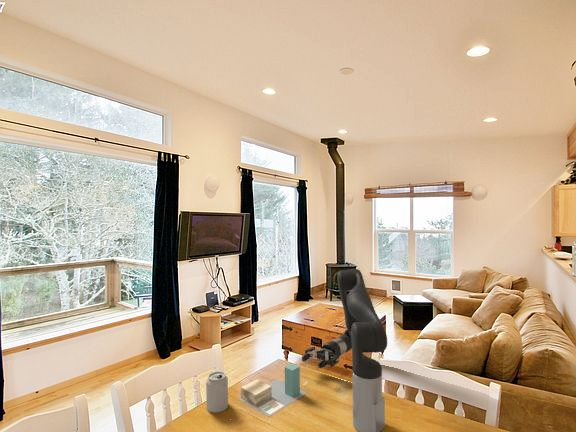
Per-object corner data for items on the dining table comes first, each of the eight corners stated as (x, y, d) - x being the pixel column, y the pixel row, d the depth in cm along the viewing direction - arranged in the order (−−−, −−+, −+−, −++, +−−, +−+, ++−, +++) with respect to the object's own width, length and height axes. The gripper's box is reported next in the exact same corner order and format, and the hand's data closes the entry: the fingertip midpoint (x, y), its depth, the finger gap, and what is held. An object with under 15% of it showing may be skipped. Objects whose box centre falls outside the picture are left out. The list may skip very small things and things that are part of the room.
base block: (271, 397, 124) (271, 386, 124) (255, 406, 118) (255, 395, 118) (257, 389, 130) (257, 379, 130) (241, 397, 124) (240, 387, 124)
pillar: (299, 393, 127) (299, 366, 127) (292, 397, 124) (292, 370, 124) (292, 389, 129) (291, 363, 129) (284, 393, 126) (284, 367, 126)
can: (225, 415, 115) (225, 380, 115) (204, 415, 115) (203, 380, 115) (230, 402, 122) (229, 369, 122) (209, 402, 122) (209, 369, 122)
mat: (307, 394, 127) (307, 392, 127) (269, 419, 112) (269, 416, 112) (277, 380, 138) (277, 378, 138) (238, 401, 123) (238, 398, 123)
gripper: (321, 336, 151) (297, 348, 140) (348, 345, 142) (325, 358, 130) (321, 353, 152) (297, 365, 140) (348, 362, 142) (325, 377, 130)
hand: (310, 362), depth 135 cm, fingers open, 8 cm apart
